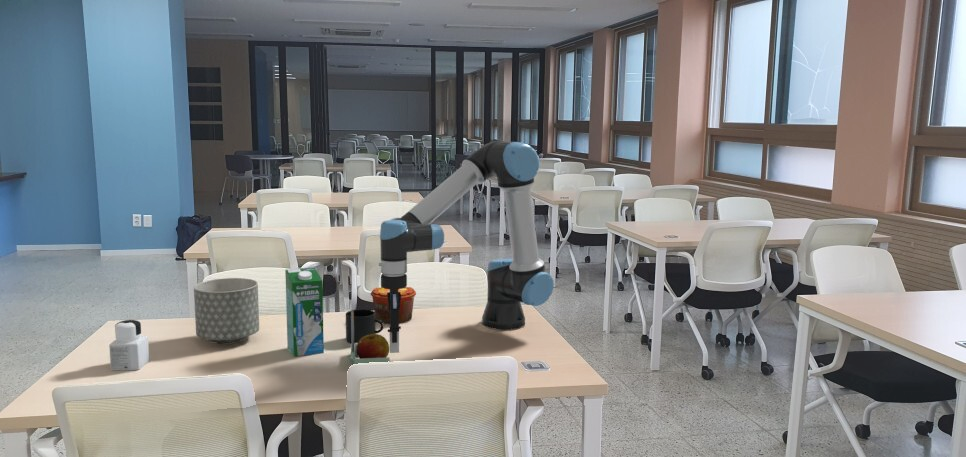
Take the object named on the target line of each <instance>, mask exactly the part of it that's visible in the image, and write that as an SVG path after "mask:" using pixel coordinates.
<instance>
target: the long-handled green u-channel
mask: <svg viewBox="0 0 966 457" xmlns="http://www.w3.org/2000/svg"><path fill="white" fill-rule="evenodd" d="M350 311H351V310H350ZM357 344H358V343H354V311H351V343H350V358H349V359H350V362H349V363H350V366H351V365H353V364H358V363H369V362H388V361H390V362H391V358H390V357H388V356H387V357H386V358H361V359H360V358H356V356H358V354H357ZM350 366H349V367H350Z"/></svg>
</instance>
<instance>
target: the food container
mask: <svg viewBox="0 0 966 457" xmlns="http://www.w3.org/2000/svg"><path fill="white" fill-rule="evenodd" d="M387 292H390V289H384V288H382V287H381V286H380V287H375V288H373V289H372V291H371V292H370V296H371V297H372V304H373V311H374V312H375V316H376V319H378V320H380V321H382V323H383V324H386V325H387V324H388V325H389V322H390V317H389V309H388V300H387ZM398 292H401V300H400V309H399V324H404V323H408V322H409V321H411V320H412V318H413V311H414V301H415V297H416V295H417V292H416V290H415V289H414V288H413V287H411V286H409V287H407V286H406V287H405V288H403V289H399V290H398Z"/></svg>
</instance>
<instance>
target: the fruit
mask: <svg viewBox="0 0 966 457" xmlns="http://www.w3.org/2000/svg"><path fill="white" fill-rule="evenodd" d="M357 354H358V355H357V357H358V359H361V358H387V357H388V356H389V354H390V343H389V341H388V340H387V339H386V338H385V337H384V335H381V334H379V333H377V334H371V335H366V336H364V337H362V338H361V339H360V340H359V342H358V344H357Z"/></svg>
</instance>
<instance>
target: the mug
mask: <svg viewBox="0 0 966 457" xmlns="http://www.w3.org/2000/svg"><path fill="white" fill-rule="evenodd" d="M351 311H354V343H358V342H359V340H360V339H361V338H362V337H364V336H366V335H371V334H379V333H381V332H382V331H383V329H384V323H382V321H380V320H378V319H376V316H375V312H374V310H372V309H365V308H360V309H352V310H349V311H347V312H345V341H346V342H347V343H349V344H351ZM377 323H378V324H379V325H380V328H379V329H378V330H377V329H376V326H377Z"/></svg>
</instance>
